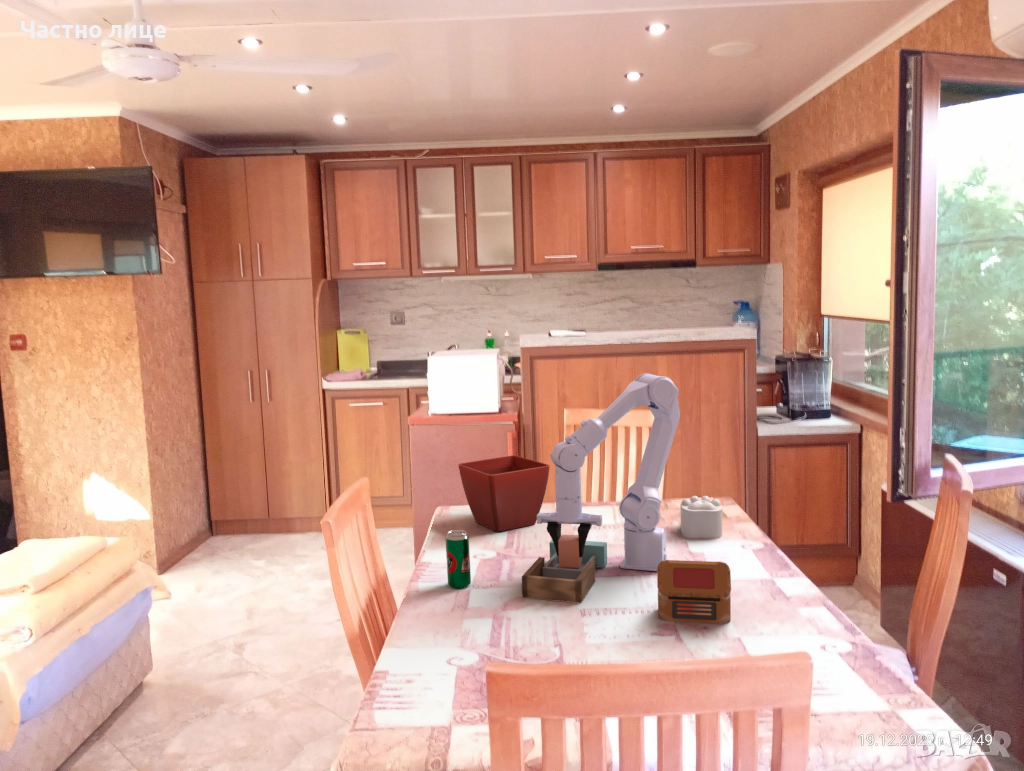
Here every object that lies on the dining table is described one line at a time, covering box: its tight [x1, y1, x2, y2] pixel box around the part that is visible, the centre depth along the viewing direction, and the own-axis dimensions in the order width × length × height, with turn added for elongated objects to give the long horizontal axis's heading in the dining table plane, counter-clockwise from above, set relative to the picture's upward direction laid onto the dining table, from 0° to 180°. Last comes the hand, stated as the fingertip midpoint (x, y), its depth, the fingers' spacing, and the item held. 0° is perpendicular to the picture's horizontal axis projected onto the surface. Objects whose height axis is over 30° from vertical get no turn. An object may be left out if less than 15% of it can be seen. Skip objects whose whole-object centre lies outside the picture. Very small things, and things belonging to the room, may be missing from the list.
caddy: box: [521, 556, 596, 604], centre depth 163 cm, size 13×12×4 cm
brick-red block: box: [558, 534, 582, 568], centre depth 172 cm, size 4×4×6 cm
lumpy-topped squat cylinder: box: [680, 495, 723, 540], centre depth 199 cm, size 10×13×9 cm
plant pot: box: [458, 454, 550, 532], centre depth 212 cm, size 19×19×17 cm
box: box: [656, 559, 732, 625], centre depth 147 cm, size 28×28×12 cm
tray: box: [542, 539, 608, 580], centre depth 173 cm, size 13×14×5 cm
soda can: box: [445, 529, 472, 590], centre depth 167 cm, size 5×5×12 cm
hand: (570, 555), depth 172 cm, fingers closed on brick-red block, 4 cm apart
